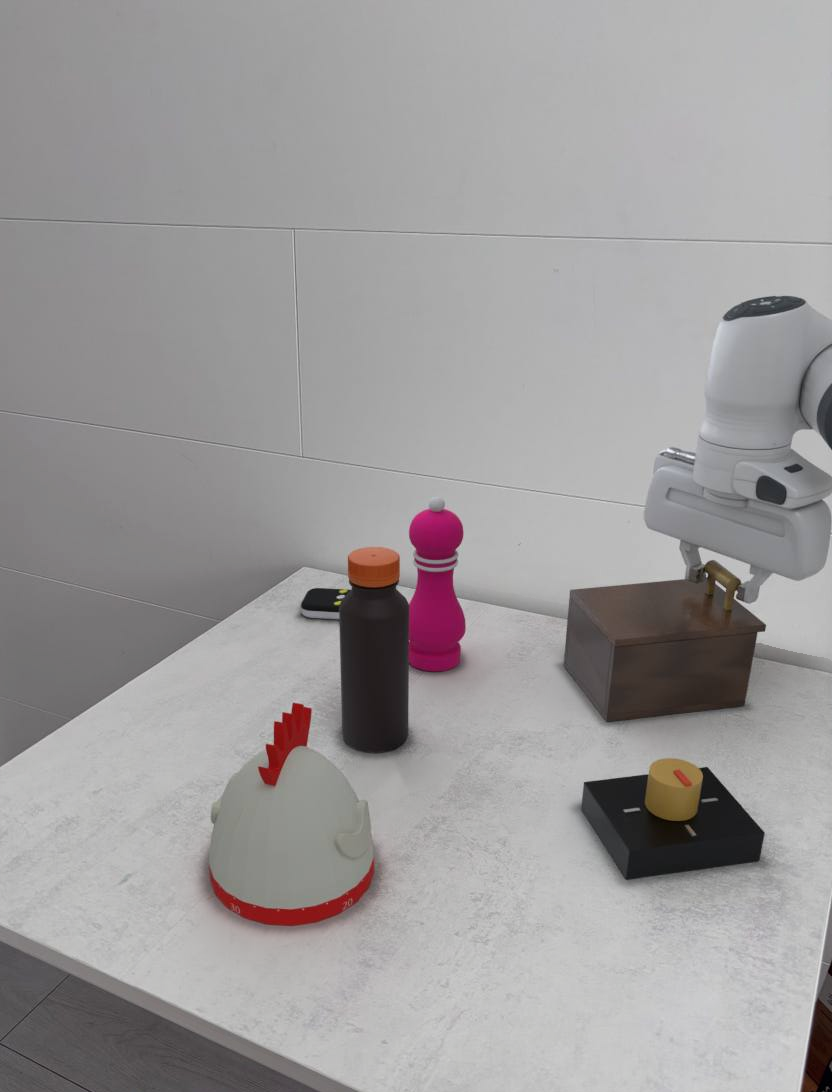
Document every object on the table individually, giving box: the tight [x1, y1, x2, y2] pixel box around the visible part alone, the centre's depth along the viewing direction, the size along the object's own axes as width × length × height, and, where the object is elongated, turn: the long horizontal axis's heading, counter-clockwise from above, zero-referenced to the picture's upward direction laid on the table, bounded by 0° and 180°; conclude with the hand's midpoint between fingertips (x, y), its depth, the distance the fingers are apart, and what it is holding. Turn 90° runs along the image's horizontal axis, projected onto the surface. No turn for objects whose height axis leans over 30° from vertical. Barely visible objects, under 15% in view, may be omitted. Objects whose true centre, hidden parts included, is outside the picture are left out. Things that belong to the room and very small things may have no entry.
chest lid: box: [569, 559, 767, 647], centre depth 109 cm, size 16×13×5 cm
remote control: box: [300, 587, 352, 620], centre depth 132 cm, size 6×13×2 cm, turn 80°
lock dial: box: [645, 757, 703, 821], centre depth 88 cm, size 4×4×4 cm
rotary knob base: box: [580, 766, 766, 880], centre depth 90 cm, size 12×10×3 cm
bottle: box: [338, 546, 410, 753], centre depth 101 cm, size 7×7×20 cm
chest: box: [563, 596, 759, 723], centre depth 112 cm, size 16×13×9 cm
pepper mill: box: [408, 495, 467, 673], centre depth 116 cm, size 7×7×20 cm
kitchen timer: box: [208, 702, 375, 927], centre depth 84 cm, size 14×14×15 cm
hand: (720, 590), depth 110 cm, fingers closed on chest lid, 5 cm apart
